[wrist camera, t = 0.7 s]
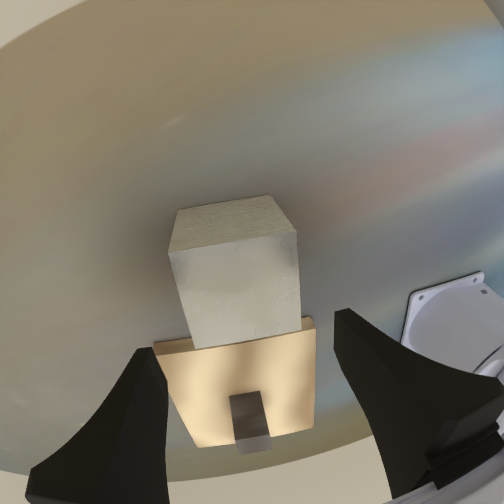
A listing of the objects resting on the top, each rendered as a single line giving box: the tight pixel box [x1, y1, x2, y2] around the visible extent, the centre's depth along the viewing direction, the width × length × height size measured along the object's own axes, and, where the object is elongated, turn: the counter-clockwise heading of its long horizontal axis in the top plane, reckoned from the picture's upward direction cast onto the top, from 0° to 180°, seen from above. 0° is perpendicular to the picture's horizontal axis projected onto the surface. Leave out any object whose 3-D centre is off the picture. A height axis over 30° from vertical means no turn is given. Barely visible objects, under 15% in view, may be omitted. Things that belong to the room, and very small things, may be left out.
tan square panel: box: [153, 316, 316, 455], centre depth 24 cm, size 12×14×6 cm
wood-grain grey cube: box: [168, 195, 301, 349], centre depth 17 cm, size 6×6×6 cm
